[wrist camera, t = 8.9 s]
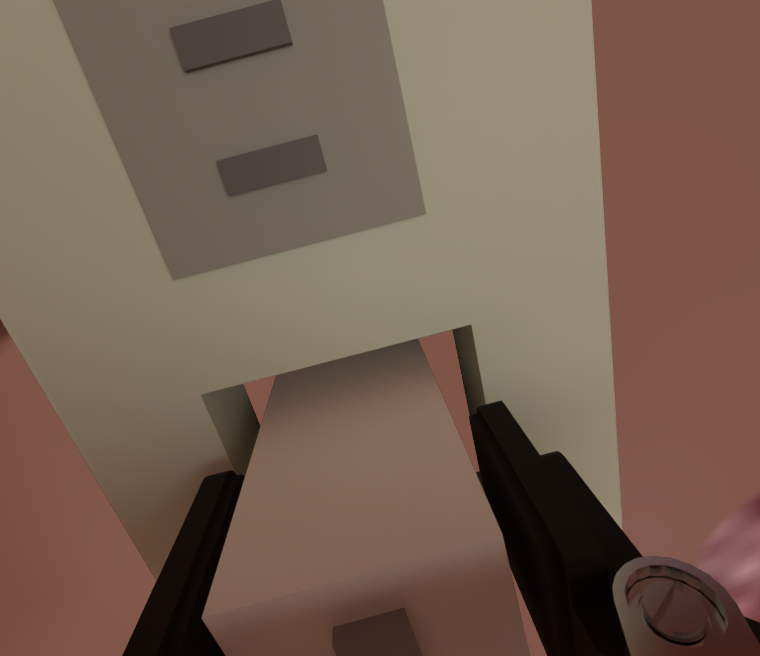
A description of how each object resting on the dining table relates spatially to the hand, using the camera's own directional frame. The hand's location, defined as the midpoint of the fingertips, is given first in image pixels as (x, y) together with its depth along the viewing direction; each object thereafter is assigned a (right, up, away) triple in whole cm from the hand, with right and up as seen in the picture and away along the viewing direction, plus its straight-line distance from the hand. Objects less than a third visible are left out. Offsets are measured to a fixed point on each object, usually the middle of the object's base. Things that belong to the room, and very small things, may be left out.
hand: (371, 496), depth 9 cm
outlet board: (-1, +5, +2) cm, 5 cm away
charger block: (0, +1, +3) cm, 4 cm away
